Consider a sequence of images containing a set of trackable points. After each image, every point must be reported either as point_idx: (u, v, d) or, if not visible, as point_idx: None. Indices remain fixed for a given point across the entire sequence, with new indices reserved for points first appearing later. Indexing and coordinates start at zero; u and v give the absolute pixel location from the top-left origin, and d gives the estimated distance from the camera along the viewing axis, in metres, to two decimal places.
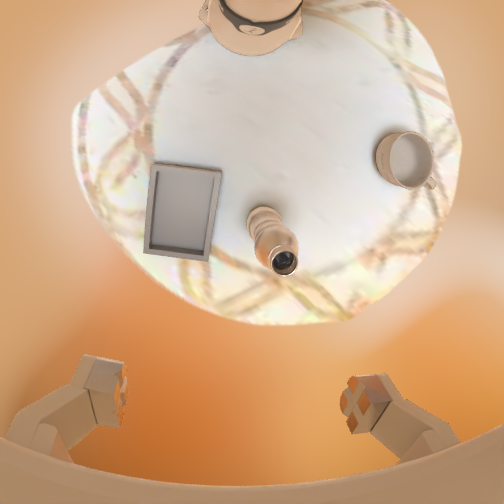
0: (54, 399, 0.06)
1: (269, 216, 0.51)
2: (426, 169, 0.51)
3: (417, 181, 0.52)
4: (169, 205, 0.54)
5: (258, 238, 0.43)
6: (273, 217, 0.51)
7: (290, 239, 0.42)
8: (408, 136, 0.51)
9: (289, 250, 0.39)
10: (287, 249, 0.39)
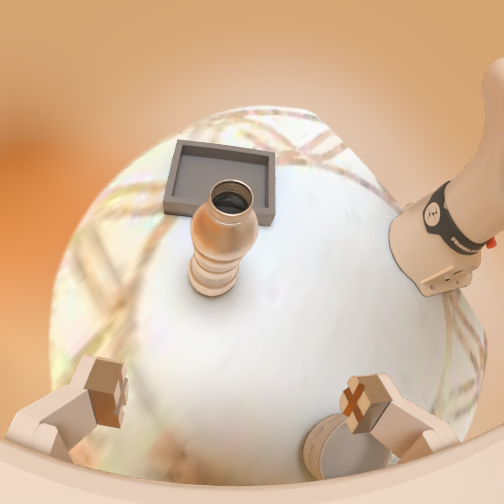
0: (54, 399, 0.06)
1: None
2: None
3: None
4: (227, 172, 0.49)
5: (238, 201, 0.31)
6: None
7: (249, 232, 0.28)
8: (374, 447, 0.33)
9: (252, 203, 0.25)
10: (253, 201, 0.25)
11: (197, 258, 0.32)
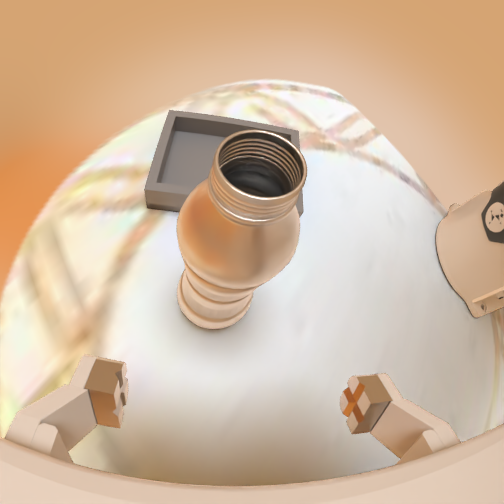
0: (54, 399, 0.06)
1: None
2: None
3: None
4: None
5: (263, 181, 0.17)
6: None
7: (289, 236, 0.15)
8: None
9: None
10: None
11: (190, 279, 0.19)
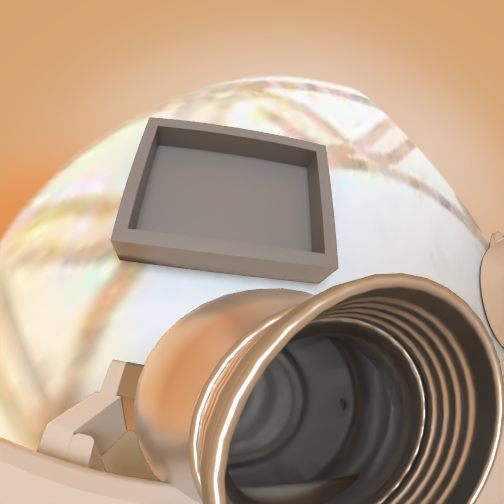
0: (86, 407, 0.07)
1: None
2: None
3: None
4: (241, 179, 0.26)
5: None
6: None
7: None
8: None
9: (489, 436, 0.02)
10: (488, 417, 0.03)
11: None
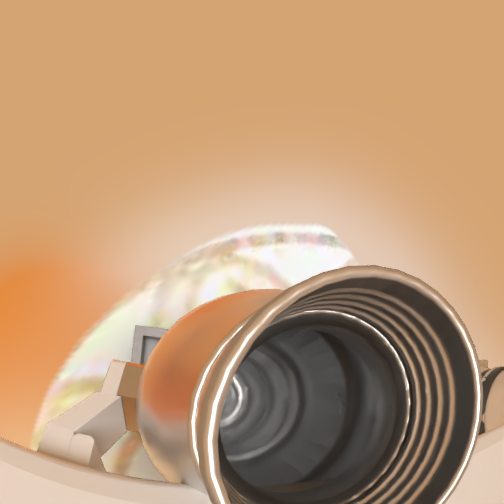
0: (87, 408, 0.07)
1: None
2: None
3: None
4: None
5: None
6: (278, 406, 0.14)
7: None
8: None
9: (470, 419, 0.03)
10: (468, 401, 0.03)
11: None
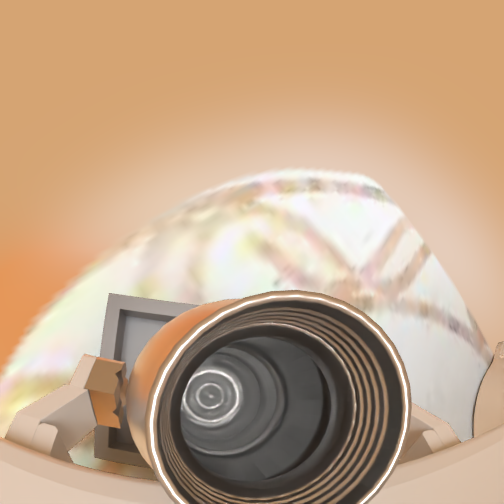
0: (54, 399, 0.06)
1: None
2: None
3: None
4: None
5: None
6: None
7: None
8: None
9: (400, 429, 0.04)
10: (400, 412, 0.04)
11: None
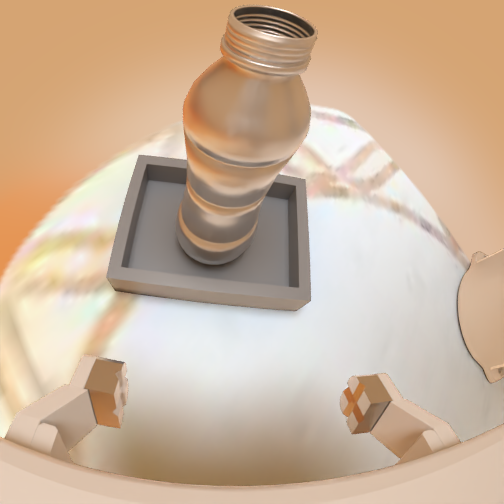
0: (54, 399, 0.06)
1: None
2: None
3: None
4: None
5: None
6: None
7: (301, 107, 0.13)
8: None
9: (315, 37, 0.10)
10: (315, 36, 0.10)
11: (192, 180, 0.17)
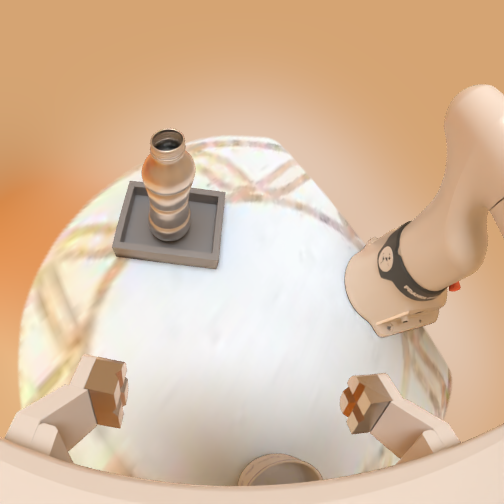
0: (54, 399, 0.06)
1: (188, 203, 0.43)
2: None
3: None
4: None
5: None
6: (187, 207, 0.42)
7: (184, 170, 0.33)
8: None
9: (183, 144, 0.31)
10: (184, 143, 0.31)
11: (149, 199, 0.38)
